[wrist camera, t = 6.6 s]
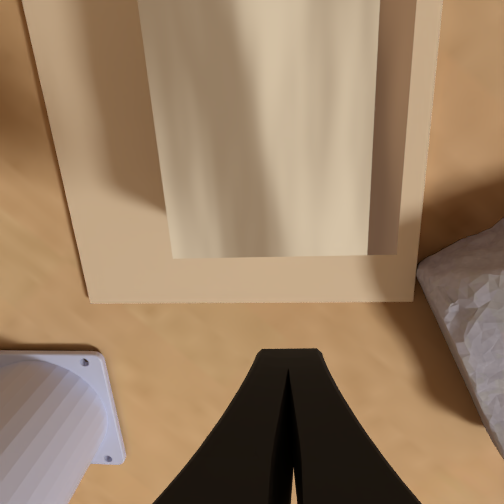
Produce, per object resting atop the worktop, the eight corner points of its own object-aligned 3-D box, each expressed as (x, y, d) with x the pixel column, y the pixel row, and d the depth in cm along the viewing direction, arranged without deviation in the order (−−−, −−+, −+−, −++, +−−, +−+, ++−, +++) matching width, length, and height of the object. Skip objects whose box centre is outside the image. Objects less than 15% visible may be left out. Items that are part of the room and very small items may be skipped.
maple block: (172, 258, 15) (396, 254, 14) (127, -73, 11) (424, -106, 10) (196, 226, 18) (374, 221, 18) (168, -31, 15) (389, -52, 14)
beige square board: (94, 299, 21) (90, 303, 20) (-4, -142, 14) (-12, -149, 14) (410, 297, 19) (413, 301, 19) (459, -205, 13) (463, -214, 12)
